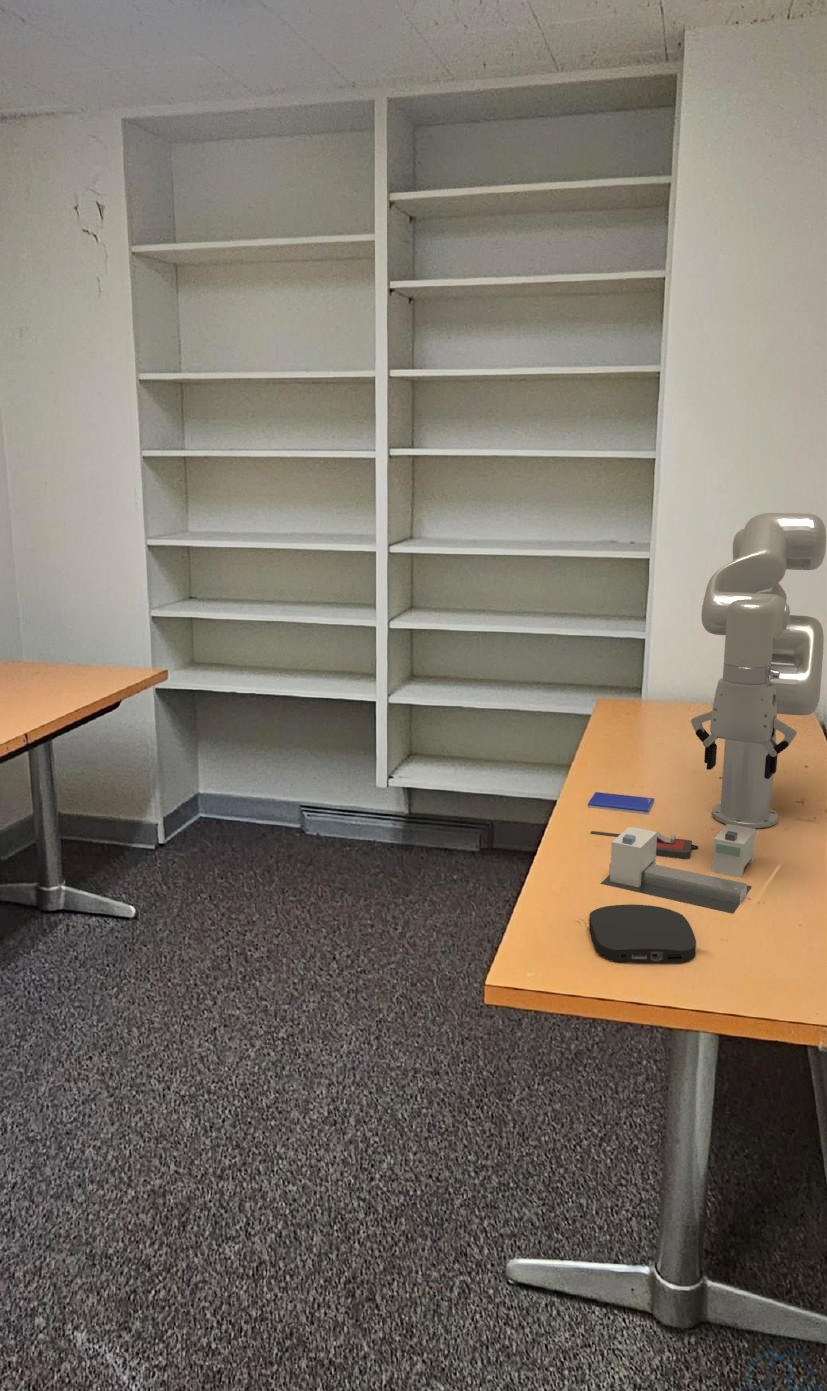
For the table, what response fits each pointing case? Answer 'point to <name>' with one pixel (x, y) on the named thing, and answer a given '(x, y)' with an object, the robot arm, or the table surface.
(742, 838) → the block
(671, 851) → the walkie-talkie
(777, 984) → the table surface
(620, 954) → the media streaming box
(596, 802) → the hard drive
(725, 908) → the rail plate
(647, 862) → the mounted module
